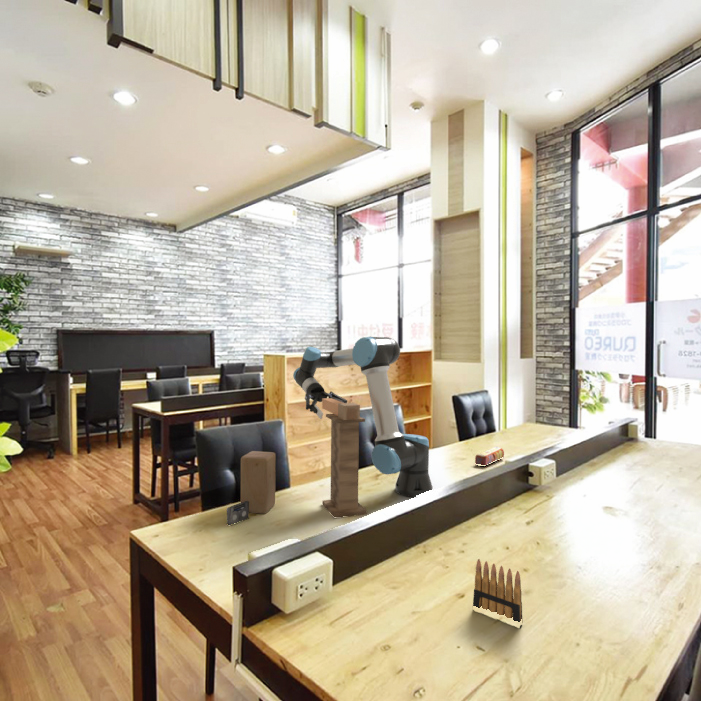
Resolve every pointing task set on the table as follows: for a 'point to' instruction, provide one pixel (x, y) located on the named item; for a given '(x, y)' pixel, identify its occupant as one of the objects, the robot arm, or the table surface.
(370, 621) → the table surface
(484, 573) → the ammunition clip
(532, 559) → the table surface
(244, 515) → the mini dv tape
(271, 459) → the wooden block
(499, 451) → the red printed rectangular box
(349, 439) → the walnut stand
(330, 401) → the terracotta bar
